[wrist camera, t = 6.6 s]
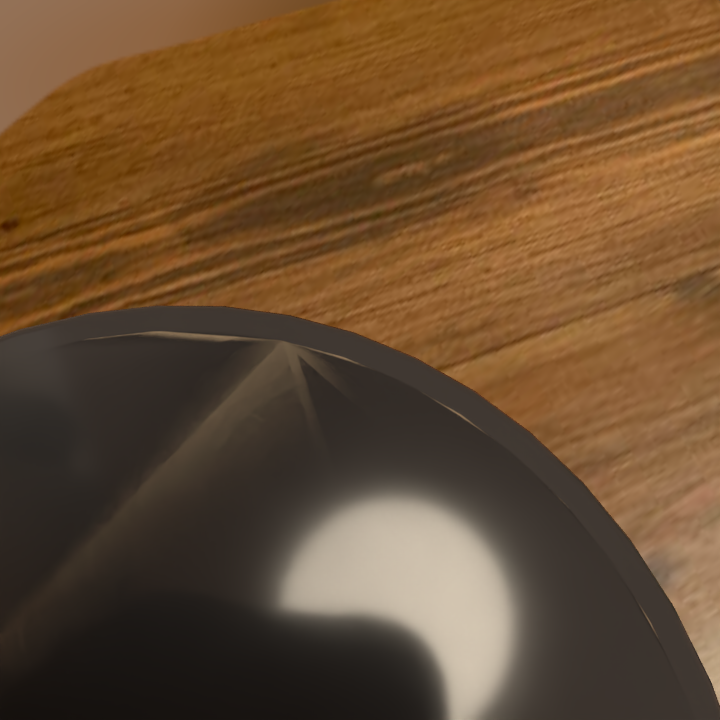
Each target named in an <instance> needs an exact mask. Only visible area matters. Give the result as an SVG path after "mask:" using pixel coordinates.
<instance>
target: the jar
mask: <svg viewBox="0 0 720 720" xmlns="http://www.w3.org/2000/svg"><path fill="white" fill-rule="evenodd" d="M0 720H720V705H719V702H718V700H717V697H716V694H715V691H714V689H713V686H712V683H711V681H710V679H709V677H708V675H707V673H706V671H705V669H704V667H703V665H702V663H701V661H700V659H699V657H698V655H697V653H696V651H695V649H694V647H693V645H692V643H691V641H690V639H689V637H688V635H687V633H686V631H685V628H684V626H683V624H682V622H681V620H680V618H679V616H678V614H677V612H676V610H675V608H674V606H673V605H672V603H671V601H670V600H669V598H668V597H667V595H666V594H665V592H664V591H663V589H662V588H661V586H660V584H659V583H658V581H657V580H656V578H655V577H654V575H653V574H652V572H651V571H650V569H649V568H648V566H647V564H646V563H645V561H644V560H643V558H642V557H641V555H640V554H639V552H638V551H637V549H636V547H635V546H634V544H633V543H632V541H631V540H630V538H629V537H628V536H627V535H626V534H625V532H624V531H623V530H622V529H621V528H620V526H619V525H618V524H617V523H616V522H615V520H614V519H613V518H612V517H611V515H610V514H609V513H608V512H607V511H606V509H605V508H604V507H603V506H602V505H601V503H600V502H599V501H598V500H597V499H596V497H595V496H594V495H593V494H592V493H591V491H590V490H589V489H588V488H587V486H586V485H585V484H584V483H583V482H582V481H581V480H580V479H579V478H578V477H577V476H576V475H575V474H574V473H573V472H572V471H571V470H570V469H569V468H568V467H567V466H565V465H564V464H563V463H562V462H561V461H560V460H559V459H558V458H557V457H556V456H555V455H554V454H553V453H552V452H551V451H550V450H549V449H548V448H547V447H545V446H544V445H543V444H542V443H541V442H540V441H539V440H538V439H537V438H536V437H535V436H534V435H533V434H532V433H531V432H530V431H528V430H527V429H525V428H524V427H523V426H521V425H520V424H519V423H517V422H516V421H515V420H513V419H512V418H511V417H509V416H508V415H507V414H505V413H504V412H503V411H501V410H500V409H498V408H497V407H496V406H494V405H493V404H492V403H490V402H489V401H488V400H486V399H485V398H484V397H482V396H481V395H480V394H478V393H477V392H476V391H474V390H472V389H471V388H469V387H467V386H465V385H463V384H462V383H460V382H458V381H456V380H455V379H453V378H451V377H449V376H447V375H446V374H444V373H442V372H440V371H439V370H437V369H435V368H433V367H431V366H430V365H428V364H426V363H424V362H423V361H421V360H419V359H417V358H416V357H413V356H411V355H408V354H406V353H403V352H401V351H398V350H396V349H393V348H391V347H389V346H386V345H384V344H381V343H379V342H376V341H374V340H371V339H369V338H367V337H364V336H362V335H359V334H357V333H354V332H351V331H347V330H343V329H340V328H336V327H332V326H328V325H325V324H321V323H317V322H313V321H310V320H306V319H302V318H298V317H295V316H291V315H285V314H277V313H270V312H263V311H255V310H248V309H241V308H233V307H226V306H149V307H140V308H131V309H122V310H113V311H104V312H95V313H88V314H84V315H80V316H75V317H71V318H67V319H63V320H58V321H54V322H50V323H45V324H41V325H37V326H33V327H28V328H24V329H20V330H17V331H14V332H11V333H9V334H6V335H3V336H0Z"/></svg>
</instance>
